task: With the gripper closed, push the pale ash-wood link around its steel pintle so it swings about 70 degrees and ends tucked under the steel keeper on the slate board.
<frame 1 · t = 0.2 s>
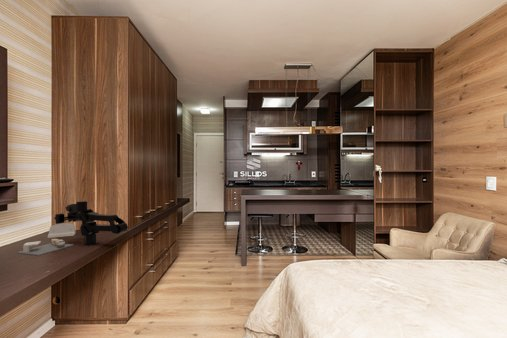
hand: (61, 216, 183), 17 cm above the table, tool horizontal, fingers open, 9 cm apart
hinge: (62, 236, 199), on the table
pintle base: (61, 247, 167), on the table
link: (57, 242, 170), point 2 cm above the table, hinge at -20.0°
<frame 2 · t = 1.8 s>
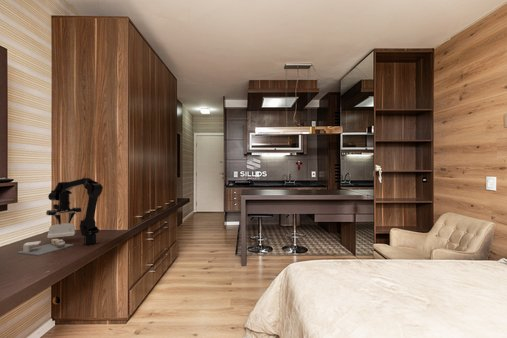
hand: (64, 223, 181), 12 cm above the table, tool pointing down, fingers open, 5 cm apart
nothing on the table moved.
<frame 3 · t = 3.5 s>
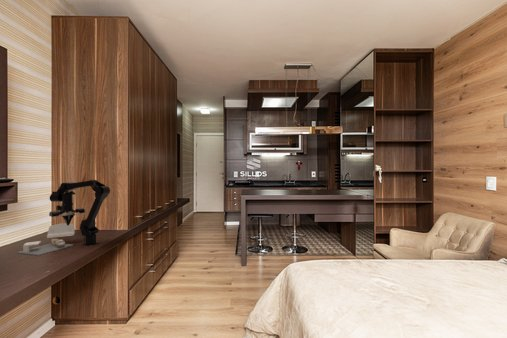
hand: (68, 225, 177), 12 cm above the table, tool pointing down, fingers closed
nothing on the table moved.
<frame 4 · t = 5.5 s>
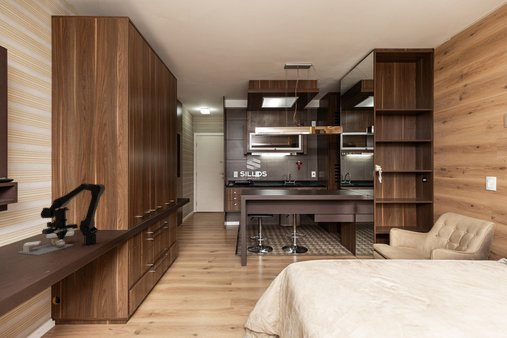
hand: (60, 242, 174), 2 cm above the table, tool pointing down, fingers closed
link: (57, 242, 170), point 2 cm above the table, hinge at -19.1°, touching gripper
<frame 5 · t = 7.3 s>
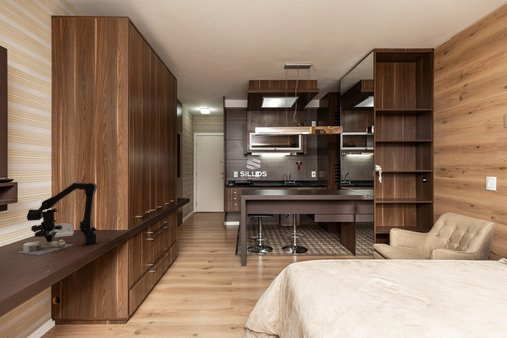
hand: (49, 244, 169), 2 cm above the table, tool pointing down, fingers closed
link: (51, 244, 166), point 2 cm above the table, hinge at 23.6°, touching gripper
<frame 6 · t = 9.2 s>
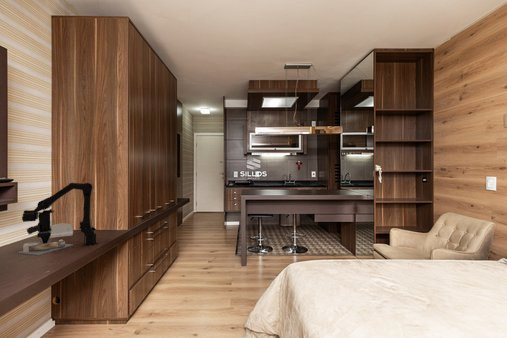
hand: (44, 245, 166), 2 cm above the table, tool pointing down, fingers closed
link: (49, 245, 164), point 2 cm above the table, hinge at 51.9°
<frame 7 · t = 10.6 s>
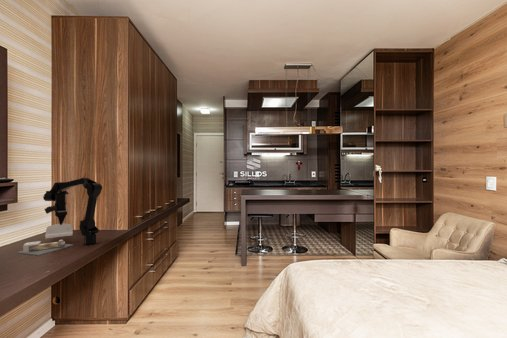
hand: (60, 224, 179), 12 cm above the table, tool pointing down, fingers closed
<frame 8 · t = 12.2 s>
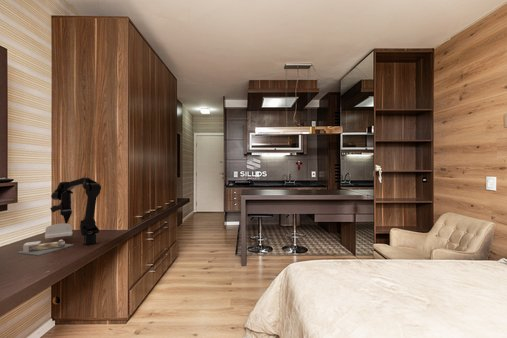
hand: (66, 223, 183), 12 cm above the table, tool pointing down, fingers closed
at the end: link at +52° (first picture: -20°); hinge moved 2.2 cm from its start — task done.
